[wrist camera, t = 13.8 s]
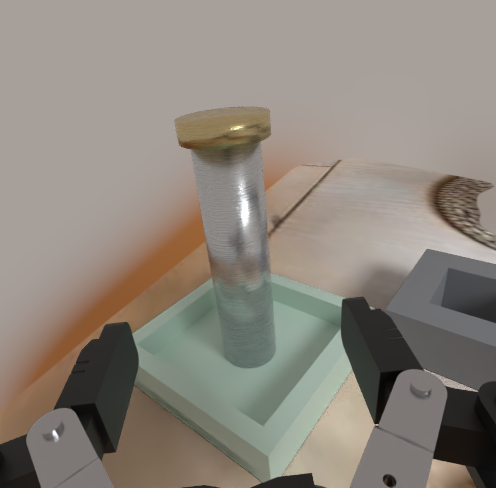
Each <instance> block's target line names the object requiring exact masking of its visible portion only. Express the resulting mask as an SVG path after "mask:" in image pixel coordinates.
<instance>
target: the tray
mask: <svg viewBox="0 0 496 488" xmlns="http://www.w3.org/2000/svg"><path fill="white" fill-rule="evenodd" d="M271 282H272V296H273V309H274V322H275V335H276V353H275V355H274V357H273V358H272V359H271V360H270V361H269V362H268V363H266V364H265V365H262V366H260V367H257V368H250V369H246V368H240V367H237V366H235V365H233V364H231V363H230V362H229V361H228V360H227V358H226V356H225V352H224V346H223V340H222V334H221V328H220V322H219V316H218V310H217V304H216V299H215V293H214V287H213V281H212V278H210V279H209V280H208V281H206V282H205V283H203V284H202V285H201V286H199V287H198V288H196V289H195V290H193V291H192V292H191V293H189V294H188V295H186V296H185V297H184V298H182V299H181V300H179V301H178V302H177V303H175V304H174V305H172V306H171V307H169V308H168V309H167V310H165V311H164V312H162V313H161V314H160V315H158V316H157V317H155V318H154V319H152V320H151V321H150V322H148V323H147V324H145V325H144V326H143V327H141V328H140V329H138V330H137V331H135V332H134V333H133V334H132V335H133V338H134V342H135V345H136V348H137V351H138V356H139V366H138V371H137V375H136V379H135V383H134V385H135V386H136V387H138V388H139V389H140V390H142V391H143V392H144V393H145V394H147V395H148V396H149V397H151V398H152V399H153V400H155V401H156V402H157V403H159V404H160V405H161V406H163V407H164V408H165V409H167V410H168V411H169V412H170V413H172V414H173V415H174V416H176V417H177V418H178V419H180V420H181V421H182V422H184V423H185V424H186V425H188V426H189V427H190V428H192V429H193V430H194V431H195V432H197V433H198V434H199V435H201V436H202V437H203V438H205V439H206V440H207V441H209V442H210V443H211V444H213V445H214V446H215V447H216V448H218V449H219V450H220V451H222V452H223V453H224V454H226V455H227V456H228V457H230V458H231V459H232V460H234V461H235V462H236V463H238V464H239V465H240V466H241V467H243V468H244V469H245V470H247V471H248V472H249V473H251V474H252V475H253V476H255V477H256V478H257V479H259V480H260V481H261V482H266V481H268V480H271V479H273V478H276V477H281V475H282V474H283V472H284V471H285V469H286V468H287V466H288V465H289V463H290V462H291V460H292V459H293V457H294V456H295V454H296V453H297V451H298V450H299V448H300V447H301V445H302V444H303V442H304V441H305V439H306V438H307V436H308V435H309V433H310V432H311V430H312V429H313V427H314V426H315V424H316V423H317V421H318V420H319V418H320V417H321V415H322V414H323V412H324V411H325V409H326V408H327V406H328V405H329V403H330V402H331V400H332V399H333V397H334V396H335V394H336V393H337V391H338V390H339V388H340V387H341V385H342V384H343V382H344V381H345V379H346V378H347V376H348V375H349V373H350V372H351V370H352V367H351V364H350V362H349V359H348V357H347V354H346V352H345V349H344V347H343V343H342V338H341V309H342V300H343V299H346V298H344V297H341V296H338V295H335V294H332V293H329V292H327V291H324V290H321V289H318V288H315V287H312V286H309V285H306V284H303V283H300V282H297V281H294V280H291V279H288V278H285V277H283V276H280V275H277V274H274V273H271ZM369 307H370V309H371V310H373V309H376V308H373V307H371V306H369Z"/></svg>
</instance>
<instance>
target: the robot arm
mask: <svg viewBox="0 0 496 488" xmlns="http://www.w3.org/2000/svg"><path fill="white" fill-rule="evenodd" d="M341 338H342V343H343V347H344V349H345V352H346V354H347V357H348V359H349V362H350V364H351V367H352V369H353V372H354V374H355V377H356V379H357V382H358V384H359V387H360V389H361V392H362V394H363V397H364V399H365V402H366V404H367V407H368V409H369V412H370V414H371V417H372V419H373V422H374V424H379V425H378V426H375V427H374V428H373V430H372V433H371V435H370V438H369V440H368V443H367V445H366V448H365V450H364V453H363V455H362V458H361V460H360V463H359V465H358V468H357V470H356V473H355V475H354V478H353V480H352V483H351V485H350V488H426V484H427V480H428V476H429V472H430V467H431V463H432V459H437V460H441V461H446V462H451V463H456V464H460V465H465V466H466V468H467V470H468V472H469V474H470V476H471V478H472V480H473V481H474V483H475V485H476V487H477V488H496V381H491V382H486V383H484V384H483V385H482V386H481V387H480V388H479V391H478V392H473V391H467V390H461V389H455V388H450V387H447V386H445V385H444V384H443V383H442V381H441V380H440V379H438V378H437V377H436V376H434V375H433V374H431V373H429V372H426V371H424V370H423V368H422V366H421V365H420V363H419V362H418V360H417V358H416V357H415V355H414V354H413V352H412V350H411V349H410V347H409V346H408V344H407V342H406V341H405V339H404V338H403V336H402V334H401V333H400V331H399V330H398V329H397V326H396V325H395V323H394V321H393V320H392V318H391V317H390V316H389V315H387V314H386V313H385V312H383V311H382V310H381V309H373V310H371V309H370V307H369V305H368V303H367V302H366V300H365V298H364V297H355V298H346V299H343V300H342V309H341ZM138 366H139V356H138V351H137V348H136V345H135V342H134V338H133V335H132V332H131V329H130V326H129V324H128V323H127V322H121V323H112V324H106V325H105V326H104V328H103V330H102V333H101V335H100V337H99V339H93V340H91V341H90V342H89V343H88V344H87V345H86V346H85V347H84V348H83V349H82V350H81V353H80V355H79V357H78V359H77V361H76V365H74V367H73V369H72V374H70V376H69V378H68V380H67V382H66V384H65V386H64V389H63V391H62V393H61V395H60V397H59V399H58V401H57V403H56V406H55V408H54V410H53V411H50V412H48V413H46V414H45V415H43V416H42V417H41V418H39V419H38V420H37V421H36V422H35V423H34V424H33V425H32V427H31V428H30V430H29V432H28V434H26V435H24V436H21V437H19V438H16V439H13V440H11V441H8V442H6V443H3V444H0V488H114V486H113V484H112V482H111V480H110V478H109V476H108V474H107V472H106V470H105V468H104V466H103V464H102V462H101V461H102V457H103V454H104V453H113V452H116V450H117V446H118V442H119V439H120V435H121V431H122V427H123V424H124V420H125V416H126V412H127V409H128V405H129V401H130V398H131V394H132V390H133V386H134V383H135V379H136V375H137V371H138ZM184 488H218V487H212V486H207V485H202V486H193V487H184ZM251 488H326V487H322V486H318V485H314V481H313V476H312V473H308V474H299V475H290V476H282V477H276V478H273V479H271V480H268V481H266V482H263V483H261V484H258V485H256V486H254V487H251Z"/></svg>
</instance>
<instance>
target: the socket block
mask: <svg viewBox="0 0 496 488" xmlns="http://www.w3.org/2000/svg"><path fill="white" fill-rule="evenodd" d="M385 313H386V314H387V315H389V316H390V317H391V318H392V320H393V321H394V323H395V325H396V326H397V329H398V330H399V331H400V333H401V334H402V336H403V338H404V339H405V341H406V342H407V344H408V346H409V347H410V349H411V350H412V352H413V354H414V355H415V357H416V358H417V360H418V362H419V363H420V365H421V366H422V368H424V369H427V370H429V371H432V372H434V373H437V374H439V375H442V376H444V377H446V378H449V379H451V380H454V381H456V382H459V383H461V384H464V385H466V386H469V387H471V388H474V389H476V390H478V391H479V388H480V387H481V386H482V385H483V384H484V383H486V382H491V381H496V264H492V263H488V262H483V261H479V260H474V259H470V258H466V257H461V256H457V255H452V254H448V253H444V252H439V251H435V250H430V249H426V251H425V252H424V254H423V255H422V257H421V258H420V260H419V261H418V263H417V264H416V265H415V267H414V268H413V270H412V271H411V273H410V274H409V276H408V277H407V278H406V280H405V281H404V283H403V284H402V286H401V287H400V289H399V290H398V291H397V293H396V294H395V296H394V297H393V299H392V300H391V302H390V303H389V304H388V306H387V307H386V309H385Z"/></svg>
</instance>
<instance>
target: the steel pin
mask: <svg viewBox="0 0 496 488" xmlns="http://www.w3.org/2000/svg"><path fill="white" fill-rule="evenodd" d="M175 127H176V133H177V138H178V143H179V145H180V146H181V147H184V148H187V149H191V155H192V161H193V167H194V173H195V179H196V185H197V191H198V196H199V203H200V209H201V215H202V220H203V227H204V232H205V238H206V245H207V251H208V257H209V263H210V269H211V275H212V281H213V287H214V293H215V299H216V304H217V310H218V316H219V322H220V328H221V334H222V340H223V346H224V352H225V356H226V358H227V360H228V361H229V362H230V363H231V364H233V365H235V366H237V367H240V368H246V369H250V368H257V367H260V366H262V365H265V364H266V363H268V362H269V361H270V360H271V359H272V358H273V357H274V355H275V353H276V335H275V322H274V309H273V296H272V282H271V269H270V256H269V243H268V229H267V216H266V203H265V190H264V176H263V164H262V151H261V141H262V140H264V139H266V138H268V137H269V136H270V135H271V125H270V111H269V109H266V108H262V107H231V108H220V109H212V110H206V111H200V112H195V113H191V114H187V115H184V116H181V117H179V118H177V119H175Z"/></svg>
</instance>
